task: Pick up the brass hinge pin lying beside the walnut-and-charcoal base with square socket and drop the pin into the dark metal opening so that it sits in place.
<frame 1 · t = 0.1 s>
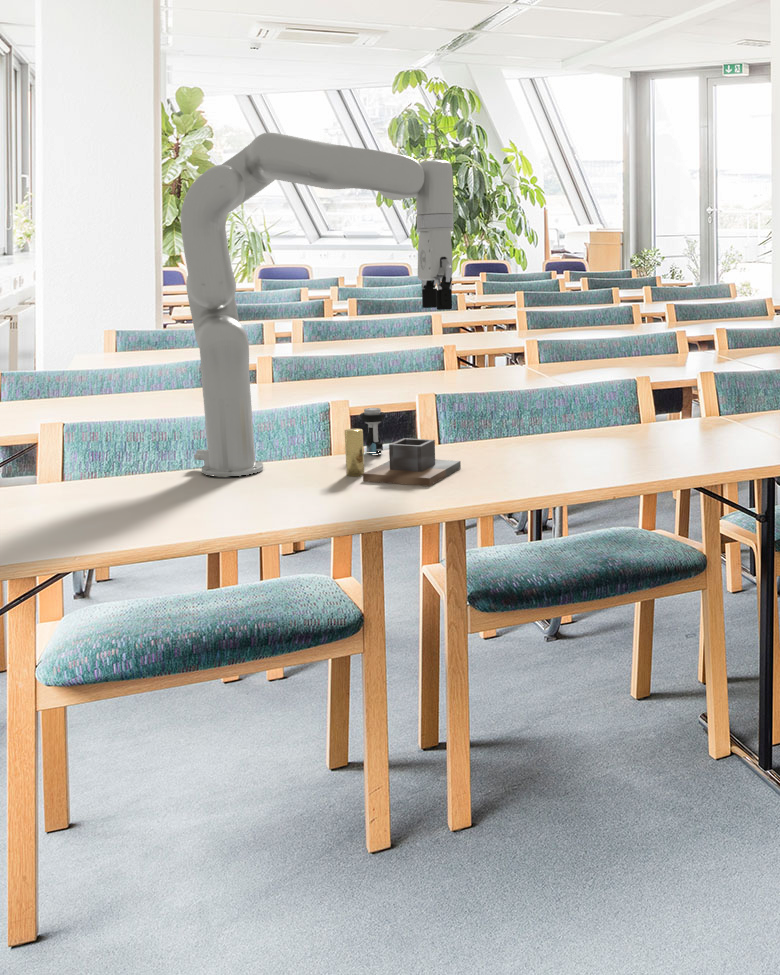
hand: (436, 308, 196), 31 cm above the table, tool pointing down, fingers open, 9 cm apart
hinge pin: (355, 474, 186), on the table
push button: (375, 455, 205), on the table
base with square socket: (412, 474, 185), on the table
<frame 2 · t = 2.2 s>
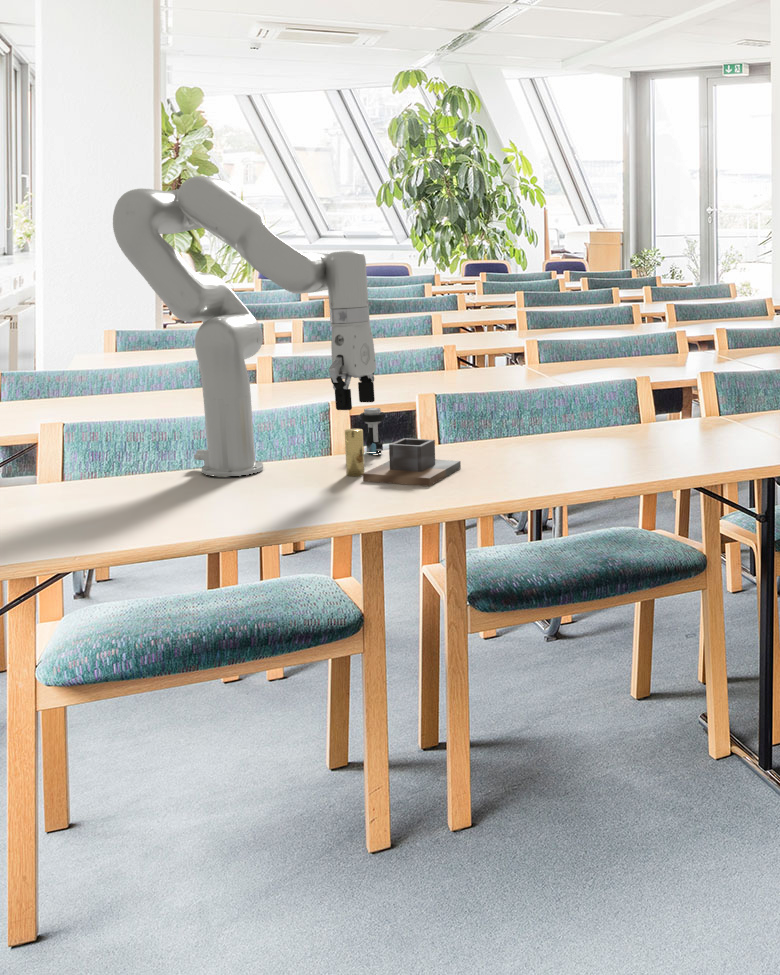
hand: (355, 405, 183), 14 cm above the table, tool pointing down, fingers open, 9 cm apart
nothing on the table moved.
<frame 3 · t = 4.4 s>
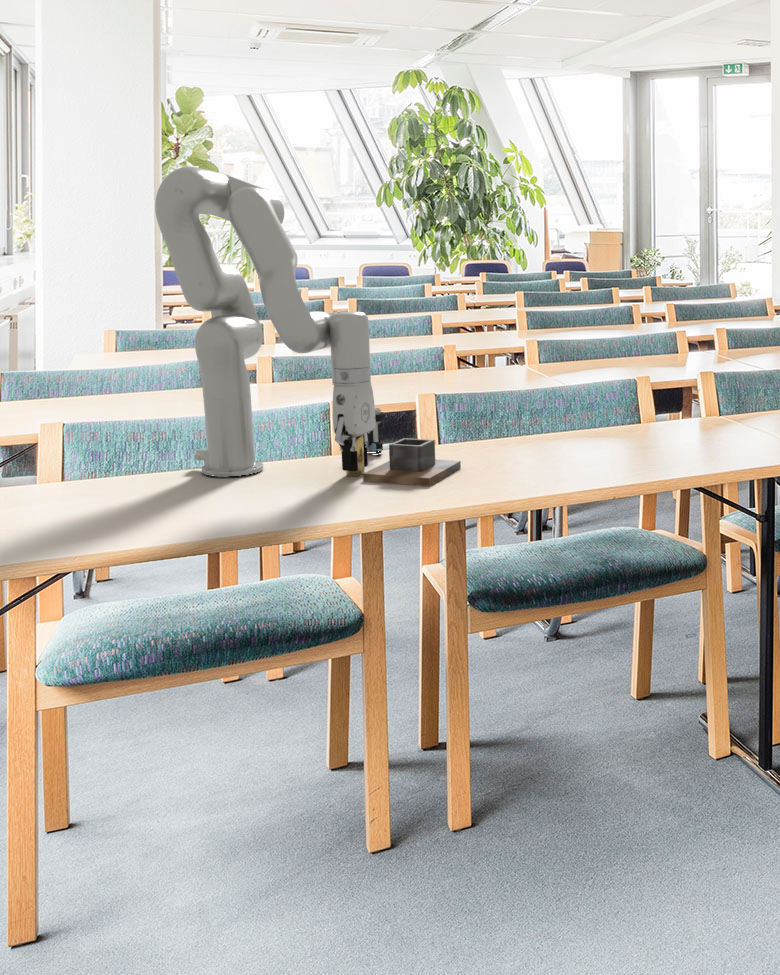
hand: (355, 467, 186), 1 cm above the table, tool pointing down, fingers closed on hinge pin, 3 cm apart
hinge pin: (355, 474, 186), on the table, touching gripper
everything else where it was.
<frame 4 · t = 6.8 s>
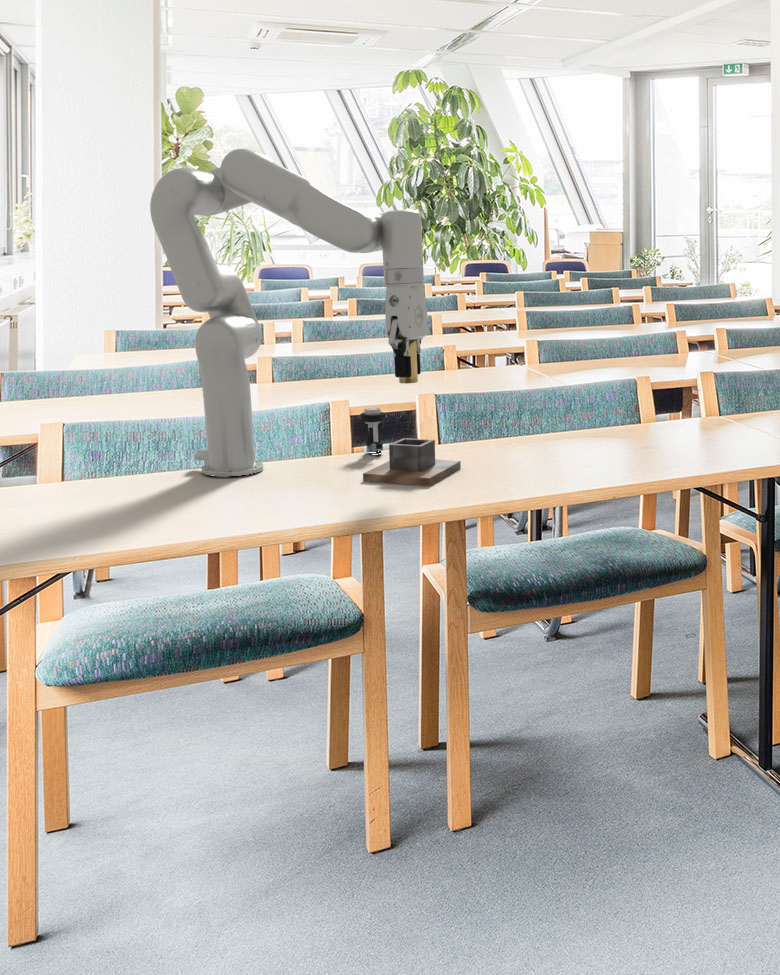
hand: (408, 374, 180), 20 cm above the table, tool pointing down, fingers closed on hinge pin, 3 cm apart
hinge pin: (408, 382, 181), point 18 cm above the table, touching gripper
everything else where it was.
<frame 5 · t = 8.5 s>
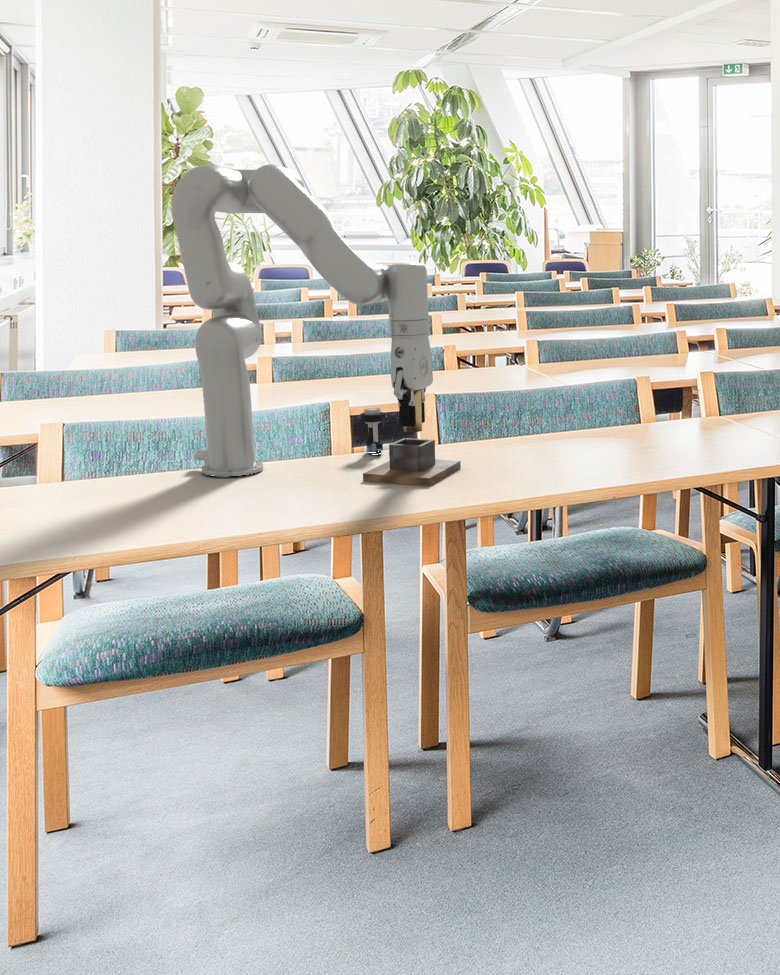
hand: (412, 423, 182), 10 cm above the table, tool pointing down, fingers closed on hinge pin, 3 cm apart
hinge pin: (413, 430, 183), point 9 cm above the table, touching gripper
everything else where it was.
when the fingers open (8 cm above the table, at t = 9.6 s): hinge pin drops 5 cm, resting on base with square socket.
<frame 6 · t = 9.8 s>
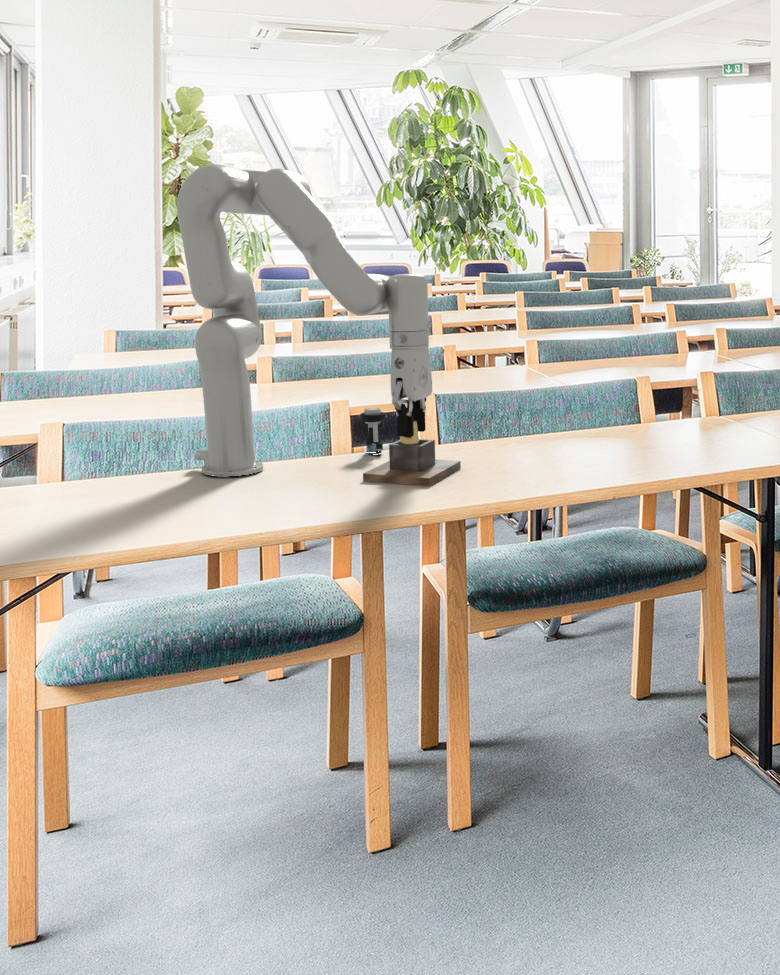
hand: (411, 432, 183), 8 cm above the table, tool pointing down, fingers open, 5 cm apart
hinge pin: (412, 466, 184), point 2 cm above the table, touching gripper, base with square socket
everything else where it was.
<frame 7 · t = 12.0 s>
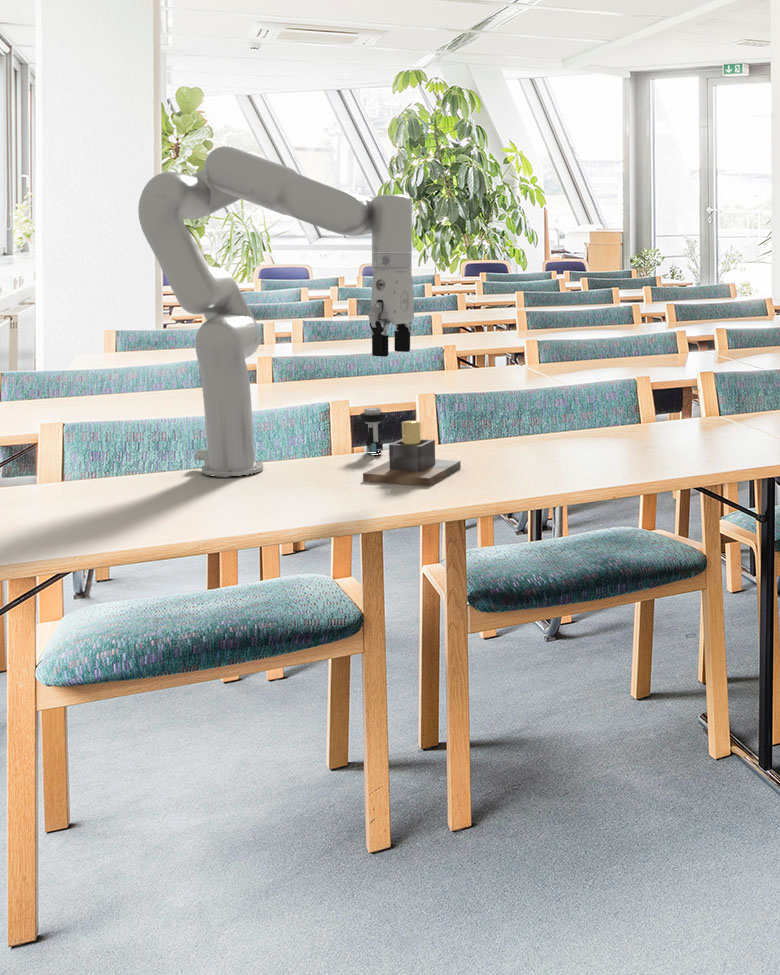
hand: (391, 353, 181), 24 cm above the table, tool pointing down, fingers open, 9 cm apart
hinge pin: (412, 467, 184), point 1 cm above the table, touching base with square socket
everything else where it was.
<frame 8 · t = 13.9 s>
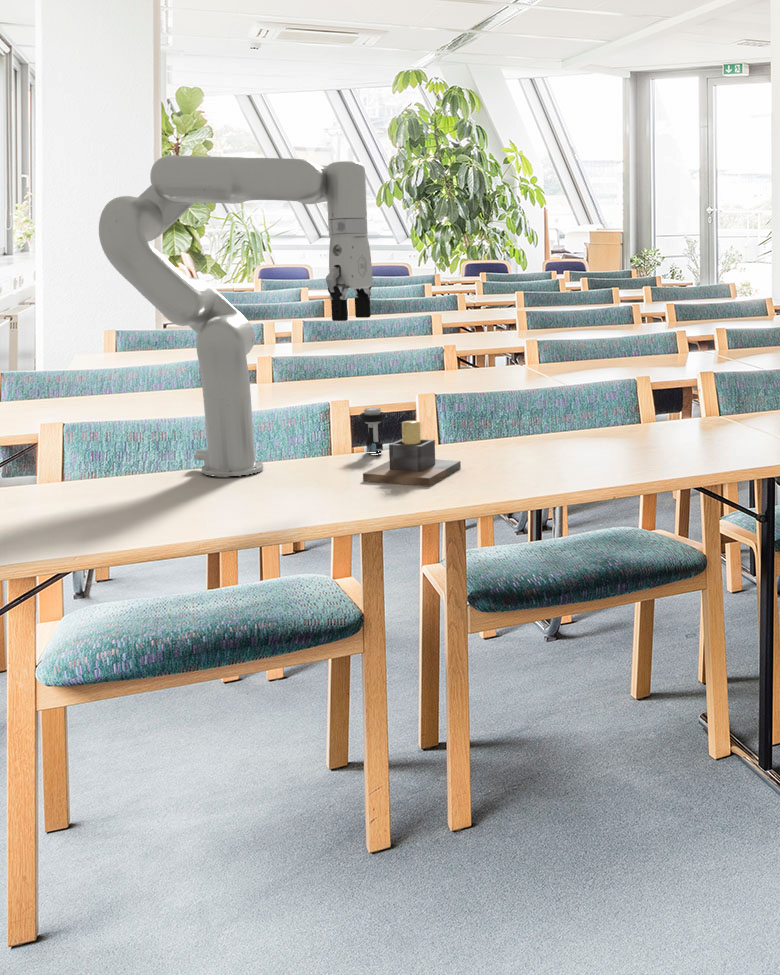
hand: (351, 319, 185), 30 cm above the table, tool pointing down, fingers open, 9 cm apart
nothing on the table moved.
at the end: hinge pin 0.2 cm off-centre on the base with square socket, point 1.5 cm above the base with square socket's base; hinge pin tilted 0°; the gripper is holding nothing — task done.
